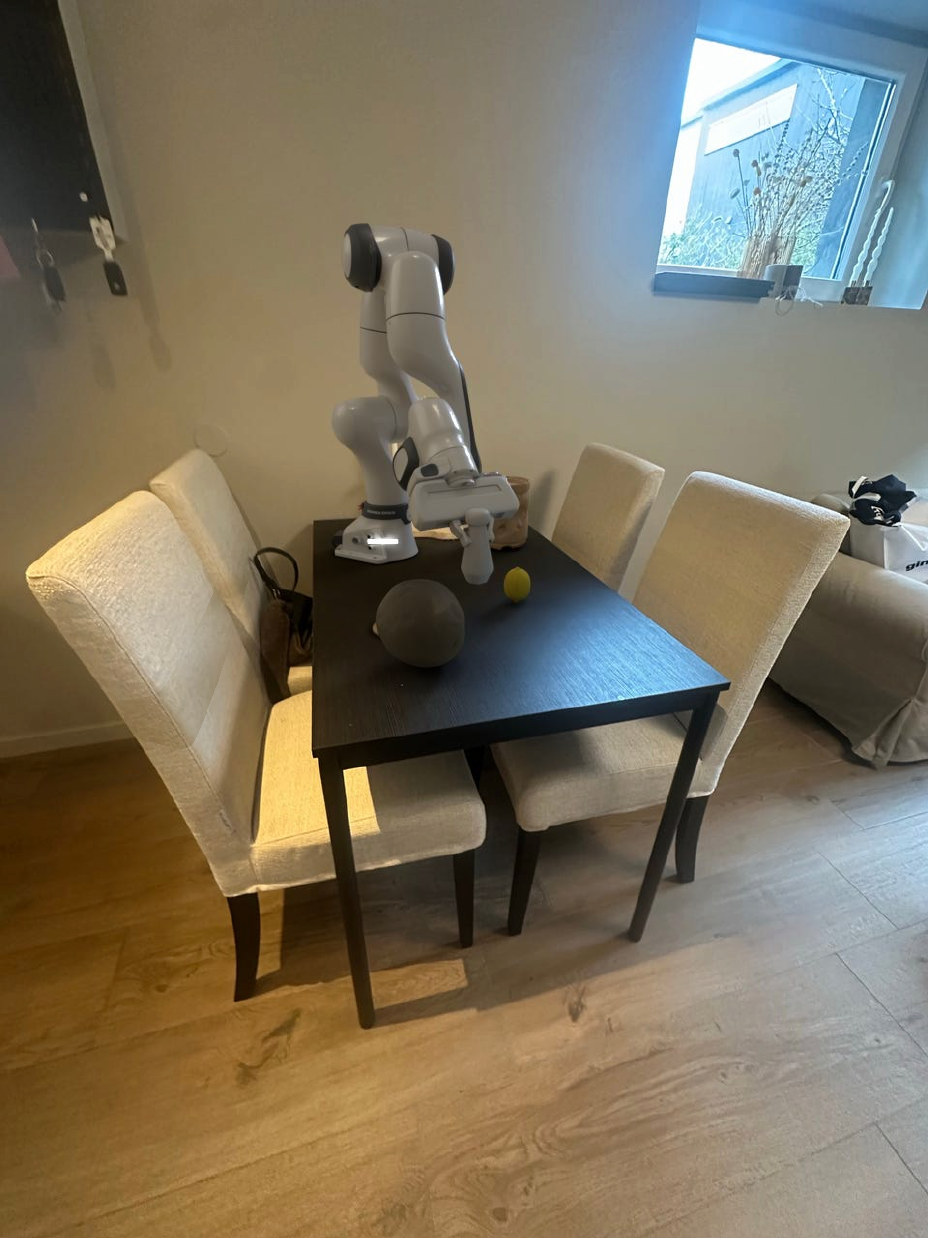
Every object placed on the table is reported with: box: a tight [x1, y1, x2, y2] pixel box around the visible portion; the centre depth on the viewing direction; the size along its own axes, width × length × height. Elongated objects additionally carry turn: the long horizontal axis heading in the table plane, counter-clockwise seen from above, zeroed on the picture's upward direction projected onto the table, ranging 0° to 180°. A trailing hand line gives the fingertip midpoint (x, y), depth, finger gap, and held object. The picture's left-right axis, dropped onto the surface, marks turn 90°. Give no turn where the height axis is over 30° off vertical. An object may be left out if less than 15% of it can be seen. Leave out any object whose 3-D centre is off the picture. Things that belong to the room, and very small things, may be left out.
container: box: [489, 475, 531, 551], centre depth 137 cm, size 13×13×18 cm
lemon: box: [503, 566, 531, 603], centre depth 105 cm, size 6×6×8 cm
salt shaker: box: [460, 508, 495, 585], centre depth 88 cm, size 6×6×13 cm
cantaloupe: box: [375, 578, 466, 669], centre depth 81 cm, size 14×14×15 cm
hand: (479, 543), depth 87 cm, fingers closed on salt shaker, 3 cm apart
